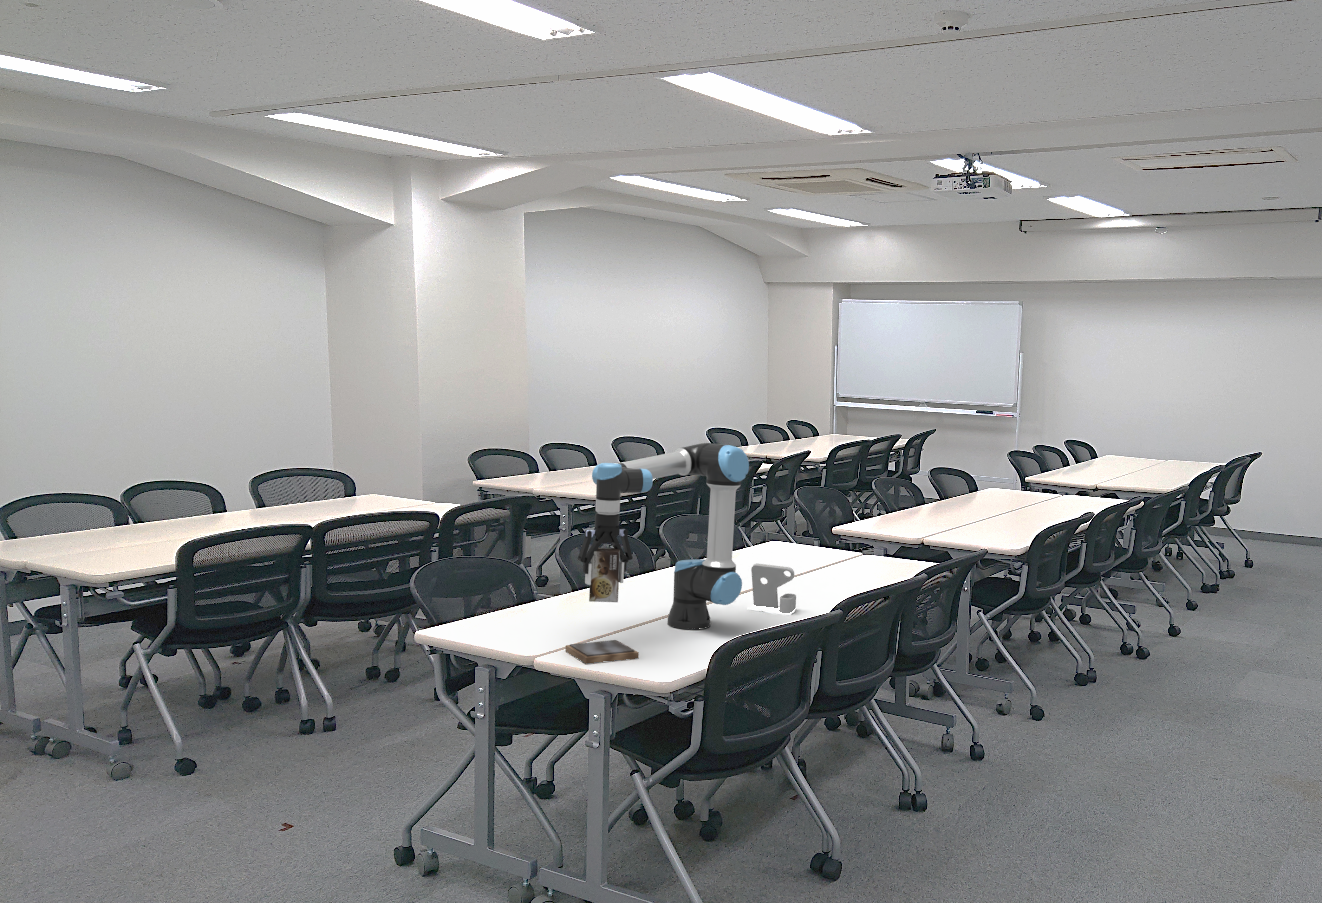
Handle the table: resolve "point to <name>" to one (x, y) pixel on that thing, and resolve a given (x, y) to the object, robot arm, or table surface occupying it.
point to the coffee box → (604, 575)
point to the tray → (601, 651)
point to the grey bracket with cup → (772, 587)
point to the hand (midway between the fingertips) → (604, 583)
